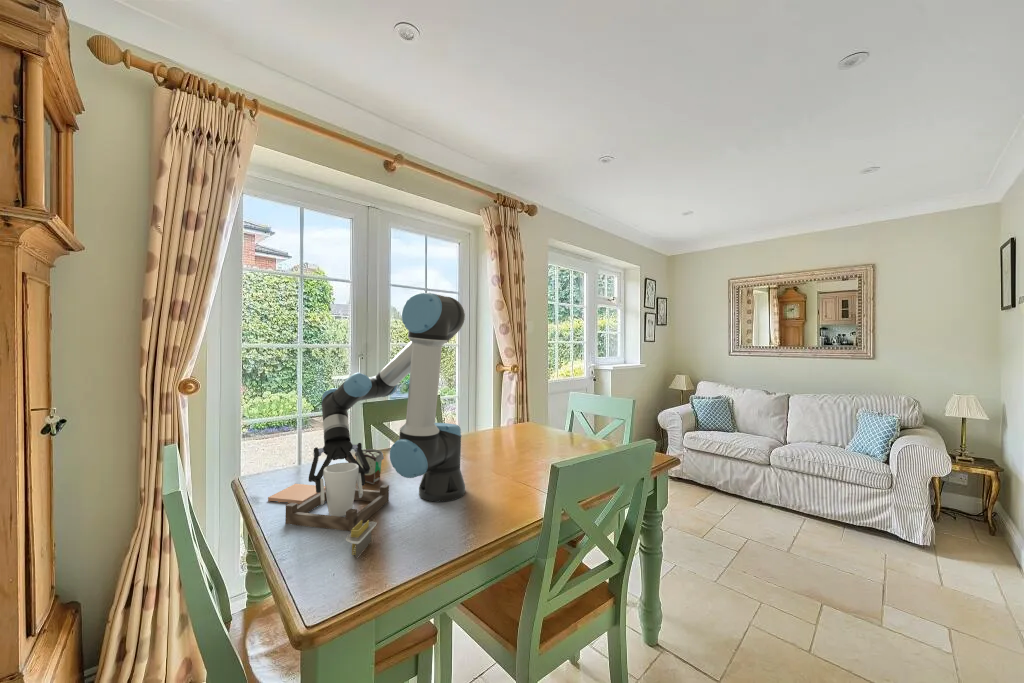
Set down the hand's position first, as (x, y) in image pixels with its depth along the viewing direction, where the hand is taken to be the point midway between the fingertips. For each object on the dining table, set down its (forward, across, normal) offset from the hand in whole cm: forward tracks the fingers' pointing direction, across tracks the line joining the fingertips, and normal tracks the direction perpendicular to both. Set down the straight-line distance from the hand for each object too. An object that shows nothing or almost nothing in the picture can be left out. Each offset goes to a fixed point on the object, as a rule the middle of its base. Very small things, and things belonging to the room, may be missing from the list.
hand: (342, 499), depth 114 cm
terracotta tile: (-12, +10, -19) cm, 25 cm away
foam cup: (+1, 0, -6) cm, 6 cm away
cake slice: (-15, -14, -23) cm, 31 cm away
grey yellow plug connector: (+19, -2, +11) cm, 22 cm away
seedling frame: (+1, 0, -6) cm, 6 cm away
